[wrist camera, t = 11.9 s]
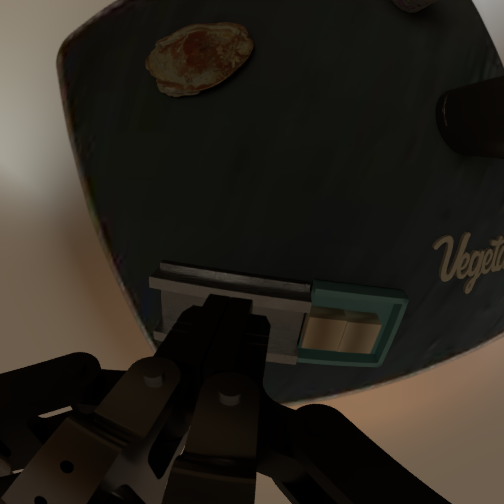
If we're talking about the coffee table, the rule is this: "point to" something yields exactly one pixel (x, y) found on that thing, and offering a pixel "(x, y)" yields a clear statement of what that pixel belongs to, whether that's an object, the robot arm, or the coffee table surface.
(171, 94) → the stone
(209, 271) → the slot rail
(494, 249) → the decorative sign
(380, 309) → the tray
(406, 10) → the cup
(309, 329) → the beige square block
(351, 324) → the chip
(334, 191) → the coffee table surface
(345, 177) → the coffee table surface
